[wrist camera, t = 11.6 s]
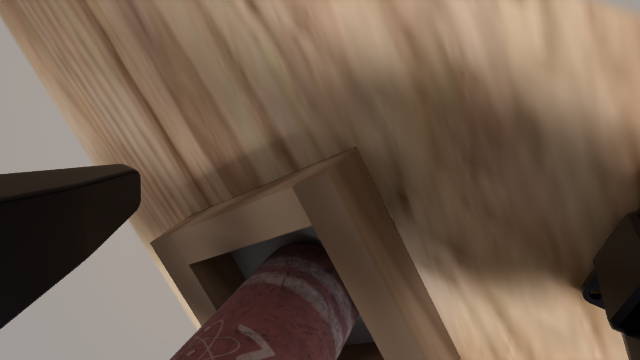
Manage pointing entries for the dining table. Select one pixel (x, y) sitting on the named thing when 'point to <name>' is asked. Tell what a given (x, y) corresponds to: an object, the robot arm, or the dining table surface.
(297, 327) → the can
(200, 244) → the collar
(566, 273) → the dining table surface
